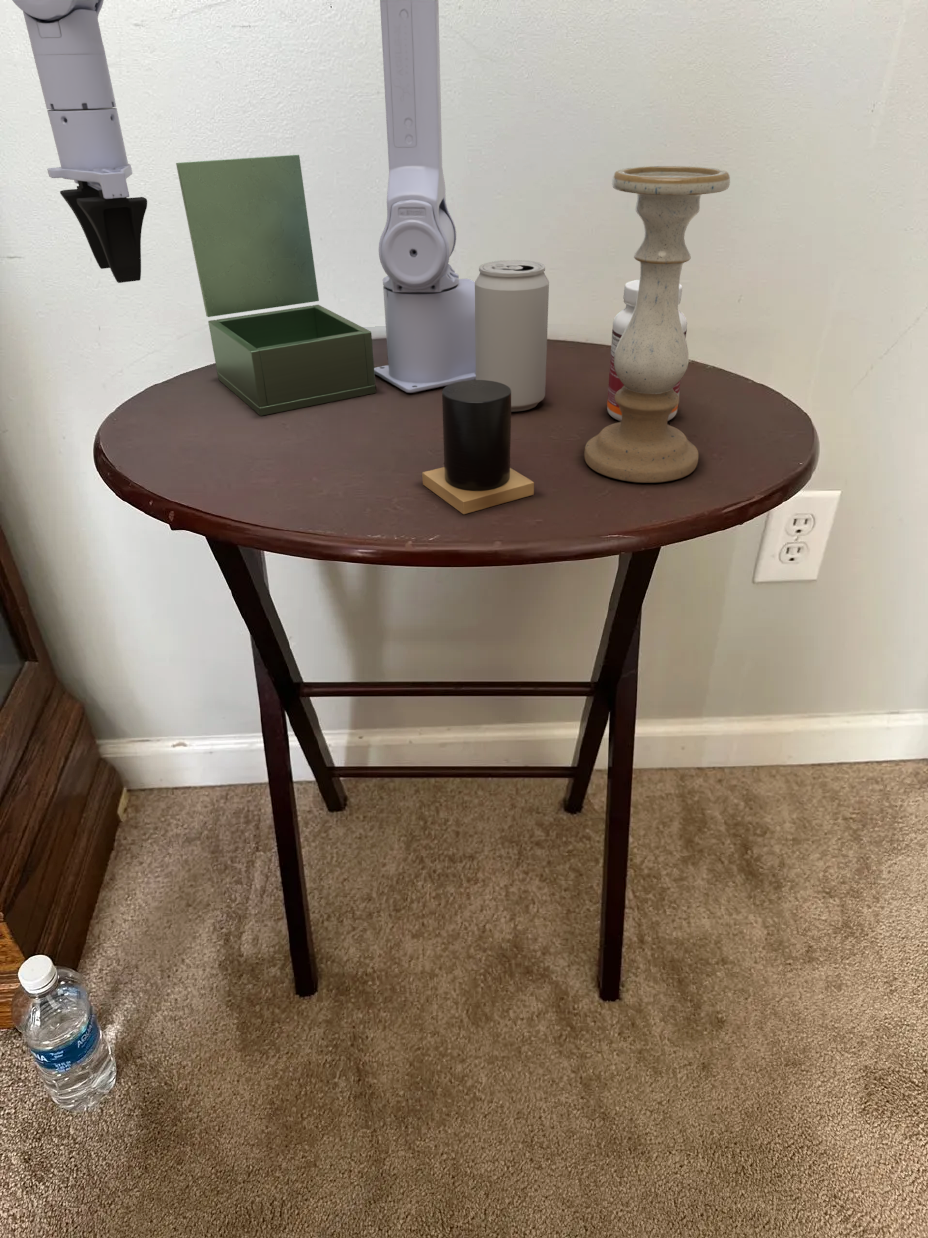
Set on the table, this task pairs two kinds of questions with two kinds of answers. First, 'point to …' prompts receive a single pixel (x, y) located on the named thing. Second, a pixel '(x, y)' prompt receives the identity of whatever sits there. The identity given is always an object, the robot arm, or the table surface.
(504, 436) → the cylinder
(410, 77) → the robot arm
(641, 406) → the candle holder
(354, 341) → the green hinged box
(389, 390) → the table surface
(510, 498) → the plate
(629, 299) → the pill bottle
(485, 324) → the beverage can
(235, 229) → the green box lid
